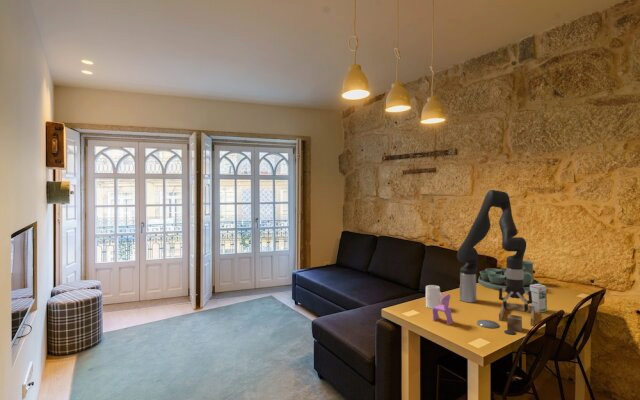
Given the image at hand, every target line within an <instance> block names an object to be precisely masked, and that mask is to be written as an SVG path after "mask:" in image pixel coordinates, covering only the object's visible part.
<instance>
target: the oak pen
mask: <svg viewBox="0 0 640 400" xmlns="http://www.w3.org/2000/svg"><path fill="white" fill-rule="evenodd" d="M506 310H510V311H511V310H512V311H517V312H518V311H519V312H525V306H524V304H521V303H514V302H508V301H507V309H505V308H504V307H503V303H502V304H501V308H500V310H499V313H498V321H499V322H502V321H503V317H504V315H505V312H506ZM535 312H536V311H534V306H530V305H529V304H528V311H526V312H525V313H530V327H534V322H535V314H536V313H535Z"/></svg>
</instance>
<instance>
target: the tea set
mask: <svg viewBox="0 0 640 400" xmlns="http://www.w3.org/2000/svg"><path fill="white" fill-rule="evenodd" d="M534 263H535V262H534V261H531V260H525V259H523V276H524V290H525V291H529V290H530V285H533V284H541V285H542V282H540V281H538V280H537V279H535V278H534V271H533V270H534V266H533V265H534ZM506 269H507V265H506V267H504V268H500V269H499V268H493V267H492V268H491V267H490V268H489V267H487V268H485V269H484V270H481V271H479V273H480V275H479V277H478V280H477V281H478V284H480V285H482V286H483V287H485V288H489V289H492V290H495V291H499V289H500V287H502V288H506Z"/></svg>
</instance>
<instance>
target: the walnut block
mask: <svg viewBox="0 0 640 400" xmlns="http://www.w3.org/2000/svg"><path fill="white" fill-rule="evenodd" d="M506 329H507V330H510V331H514V332H516V333H522V332H523V316H522V315H517V314H516V315H515V314H509V313H508V314H507V318H506Z"/></svg>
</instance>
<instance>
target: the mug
mask: <svg viewBox="0 0 640 400" xmlns="http://www.w3.org/2000/svg"><path fill="white" fill-rule="evenodd" d="M444 296H445V295H444V294H443V293H442V292H441V287H440V286H439V285H435V284H429V285H426V286H425V296H424V297H425V307H426V308H427V307H428V308H427V309H430V308H431V309H432V310H433V307H436V306H438V305H443V304H441V300H442V298H443V297H444ZM443 306H444V305H443ZM431 309H430V310H431Z"/></svg>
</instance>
